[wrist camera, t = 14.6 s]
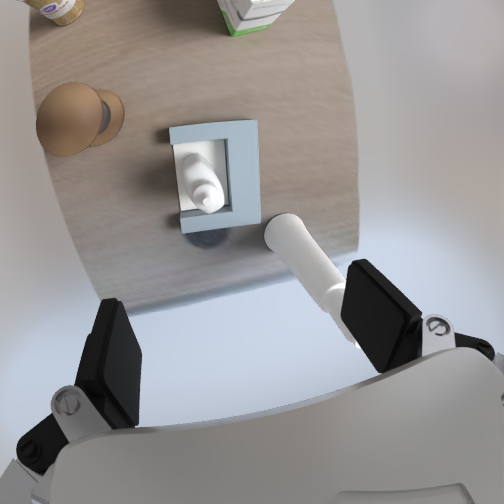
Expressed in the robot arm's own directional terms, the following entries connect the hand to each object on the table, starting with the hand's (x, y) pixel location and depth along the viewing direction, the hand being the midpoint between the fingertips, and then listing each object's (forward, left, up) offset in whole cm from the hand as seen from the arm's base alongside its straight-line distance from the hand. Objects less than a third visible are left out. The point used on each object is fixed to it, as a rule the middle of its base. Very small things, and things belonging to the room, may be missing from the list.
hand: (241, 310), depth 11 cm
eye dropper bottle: (0, 0, -26) cm, 26 cm away
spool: (-10, -12, -26) cm, 31 cm away
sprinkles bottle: (-26, -16, -26) cm, 41 cm away
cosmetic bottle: (+10, +11, -26) cm, 30 cm away
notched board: (0, +2, -26) cm, 26 cm away
